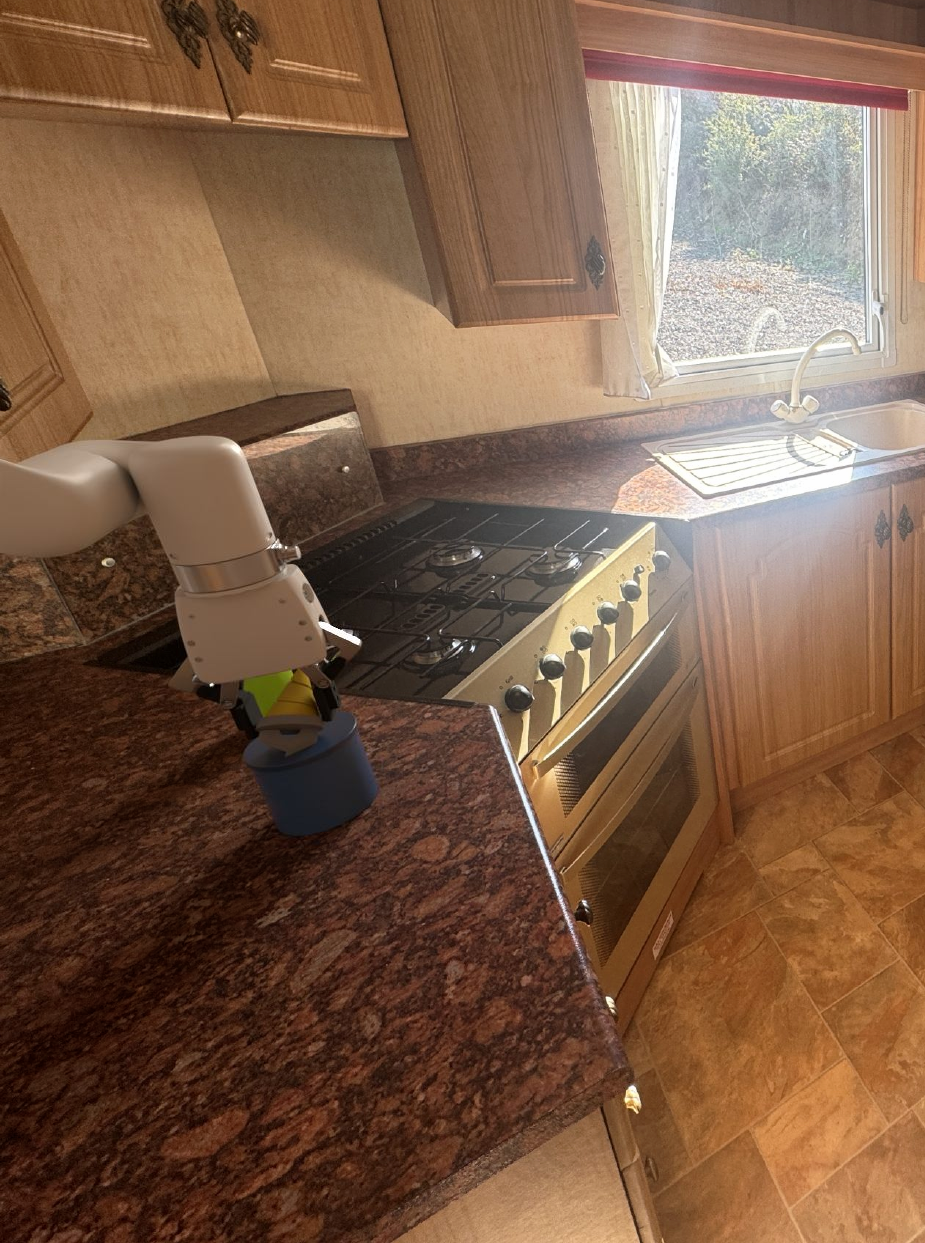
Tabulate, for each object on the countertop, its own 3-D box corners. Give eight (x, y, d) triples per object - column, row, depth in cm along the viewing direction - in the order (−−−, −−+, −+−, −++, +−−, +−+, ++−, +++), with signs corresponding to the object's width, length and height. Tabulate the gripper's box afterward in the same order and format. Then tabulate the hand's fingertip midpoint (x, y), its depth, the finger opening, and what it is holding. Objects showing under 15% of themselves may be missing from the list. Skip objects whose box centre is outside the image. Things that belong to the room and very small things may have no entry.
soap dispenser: (316, 721, 95) (261, 583, 87) (245, 740, 92) (182, 598, 84) (319, 699, 100) (267, 565, 92) (252, 716, 96) (193, 579, 88)
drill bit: (246, 763, 75) (266, 667, 79) (314, 761, 78) (330, 670, 82) (252, 752, 71) (273, 653, 75) (322, 751, 75) (339, 656, 79)
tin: (263, 850, 76) (230, 778, 72) (285, 793, 83) (256, 725, 80) (374, 817, 80) (348, 748, 76) (385, 766, 87) (362, 701, 84)
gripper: (349, 537, 77) (397, 683, 84) (124, 570, 69) (198, 727, 76) (336, 564, 71) (389, 719, 78) (88, 603, 63) (172, 771, 70)
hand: (294, 721), depth 77 cm, fingers closed on drill bit, 5 cm apart
